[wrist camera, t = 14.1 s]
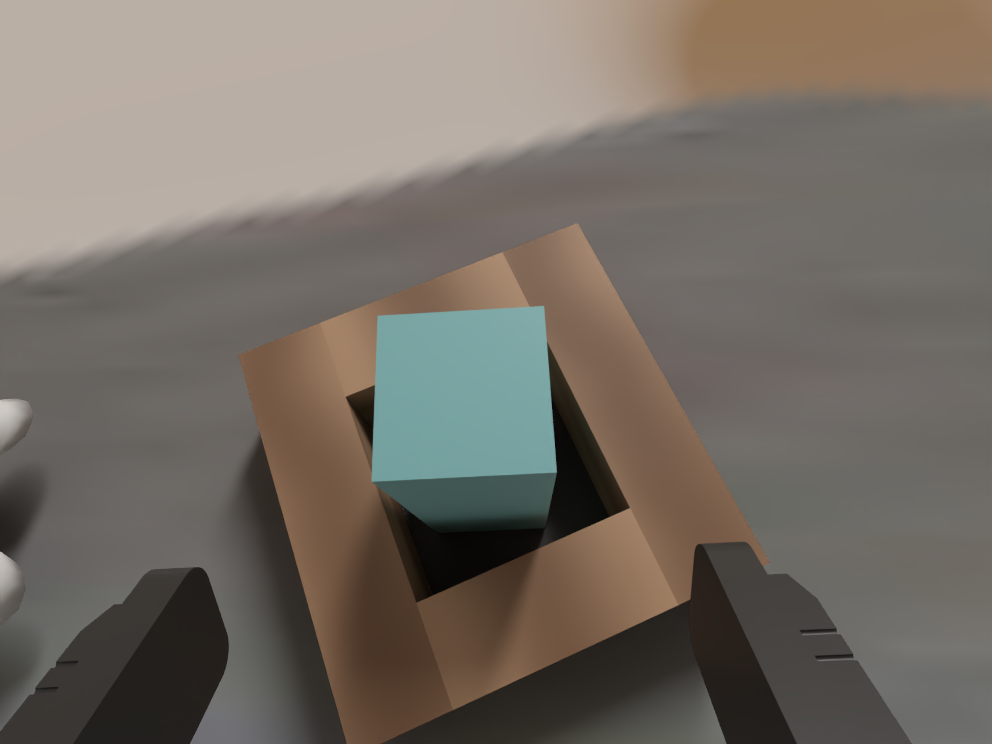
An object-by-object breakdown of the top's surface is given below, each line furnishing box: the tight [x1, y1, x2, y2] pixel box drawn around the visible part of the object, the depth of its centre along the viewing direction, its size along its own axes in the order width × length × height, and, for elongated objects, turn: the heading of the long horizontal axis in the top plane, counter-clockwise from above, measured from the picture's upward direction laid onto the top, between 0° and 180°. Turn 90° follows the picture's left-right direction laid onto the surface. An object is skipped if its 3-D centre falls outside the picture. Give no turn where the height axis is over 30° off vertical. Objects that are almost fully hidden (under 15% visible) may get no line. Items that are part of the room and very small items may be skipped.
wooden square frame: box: [239, 223, 770, 744], centre depth 21 cm, size 13×13×4 cm
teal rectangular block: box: [372, 306, 557, 533], centre depth 18 cm, size 4×4×10 cm
